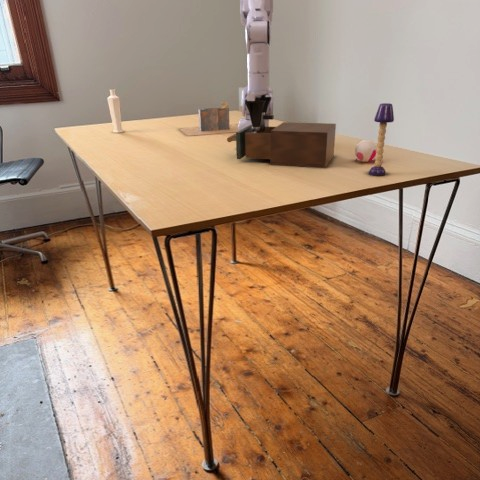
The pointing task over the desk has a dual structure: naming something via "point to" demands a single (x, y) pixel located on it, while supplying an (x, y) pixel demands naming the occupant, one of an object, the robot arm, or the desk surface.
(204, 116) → the architectural model on board
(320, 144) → the cabinet
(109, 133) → the desk surface
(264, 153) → the drawer
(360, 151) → the stress ball
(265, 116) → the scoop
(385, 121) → the toy lamp
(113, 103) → the perfume bottle
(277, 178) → the desk surface
